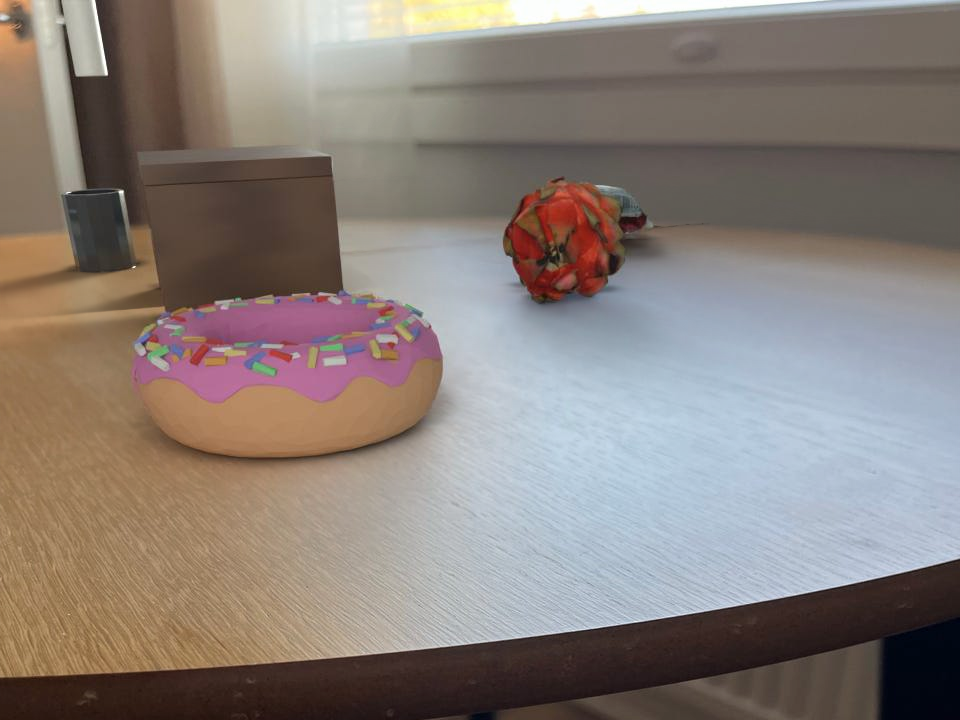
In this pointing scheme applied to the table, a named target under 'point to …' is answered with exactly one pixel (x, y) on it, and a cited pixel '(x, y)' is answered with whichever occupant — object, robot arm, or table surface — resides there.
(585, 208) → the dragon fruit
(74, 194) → the pen cup
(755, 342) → the table surface
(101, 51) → the marker
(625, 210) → the packaged food
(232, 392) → the donut
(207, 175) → the desk cabinet
